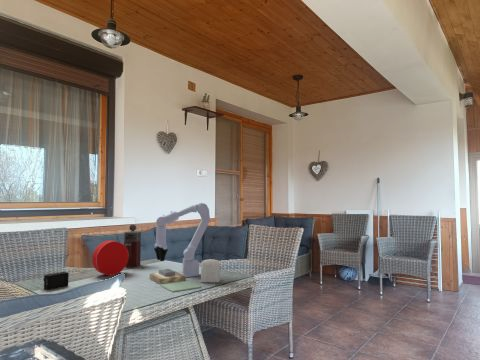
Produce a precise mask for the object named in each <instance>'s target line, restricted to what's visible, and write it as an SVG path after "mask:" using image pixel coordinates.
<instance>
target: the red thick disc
mask: <svg viewBox="0 0 480 360" xmlns="http://www.w3.org/2000/svg"><path fill="white" fill-rule="evenodd" d="M128 258H129V254H128V250H127V248H126V246H125V245H124V243H122V242H120V241H116V240H105V241H103V242H101V243H99V244H98V245H97V247H95V249H94V251H93V253H92V259H91V260H92V261H91V263H92V265H93V267H94V269H95V271H97V272H98V273H99V274H103V275H105V276H114V275H113V274H116V275H118V274H120V273H121V272H123V270H124V269H125V268H126V267H125V266H126V265H127V262H128Z"/></svg>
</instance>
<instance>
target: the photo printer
mask: <svg viewBox="0 0 480 360" xmlns="http://www.w3.org/2000/svg"><path fill="white" fill-rule="evenodd" d="M220 267H221V264H220V261H219V260H217V259H213V258H212V259H211V258H208V259H204V260H202V261H201V268H200V282H201V283H220V280H221V279H220V272H221V271H220V269H221V268H220Z"/></svg>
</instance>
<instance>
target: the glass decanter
mask: <svg viewBox="0 0 480 360" xmlns="http://www.w3.org/2000/svg"><path fill="white" fill-rule="evenodd" d="M141 242H142V231H141V230H137V226H136V224H134V223H133V224H130V225H129V230H127V231H125V232H124V236H123V244H124V245H125V246H126V248H127V250H128V254H129V258H128V262H127V265H126V266H125V268H138V267H140V266H141V247H142V246H141V245H142V243H141Z"/></svg>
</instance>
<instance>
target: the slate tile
mask: <svg viewBox="0 0 480 360" xmlns="http://www.w3.org/2000/svg"><path fill="white" fill-rule="evenodd" d="M175 271H176V270H173V269H171V268H165V269H158V273H159V274H161V275H163V276H173V275H175Z"/></svg>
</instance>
